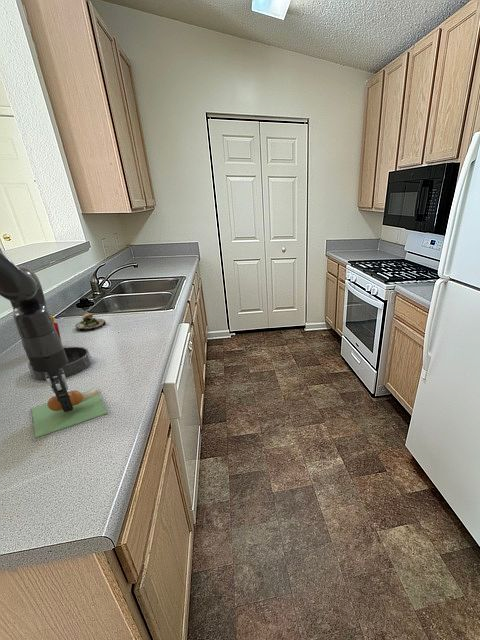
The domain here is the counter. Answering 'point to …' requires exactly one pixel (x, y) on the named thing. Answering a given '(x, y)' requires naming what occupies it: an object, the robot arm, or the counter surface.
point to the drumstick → (72, 399)
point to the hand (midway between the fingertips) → (67, 406)
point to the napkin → (66, 416)
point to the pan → (69, 362)
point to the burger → (89, 322)
